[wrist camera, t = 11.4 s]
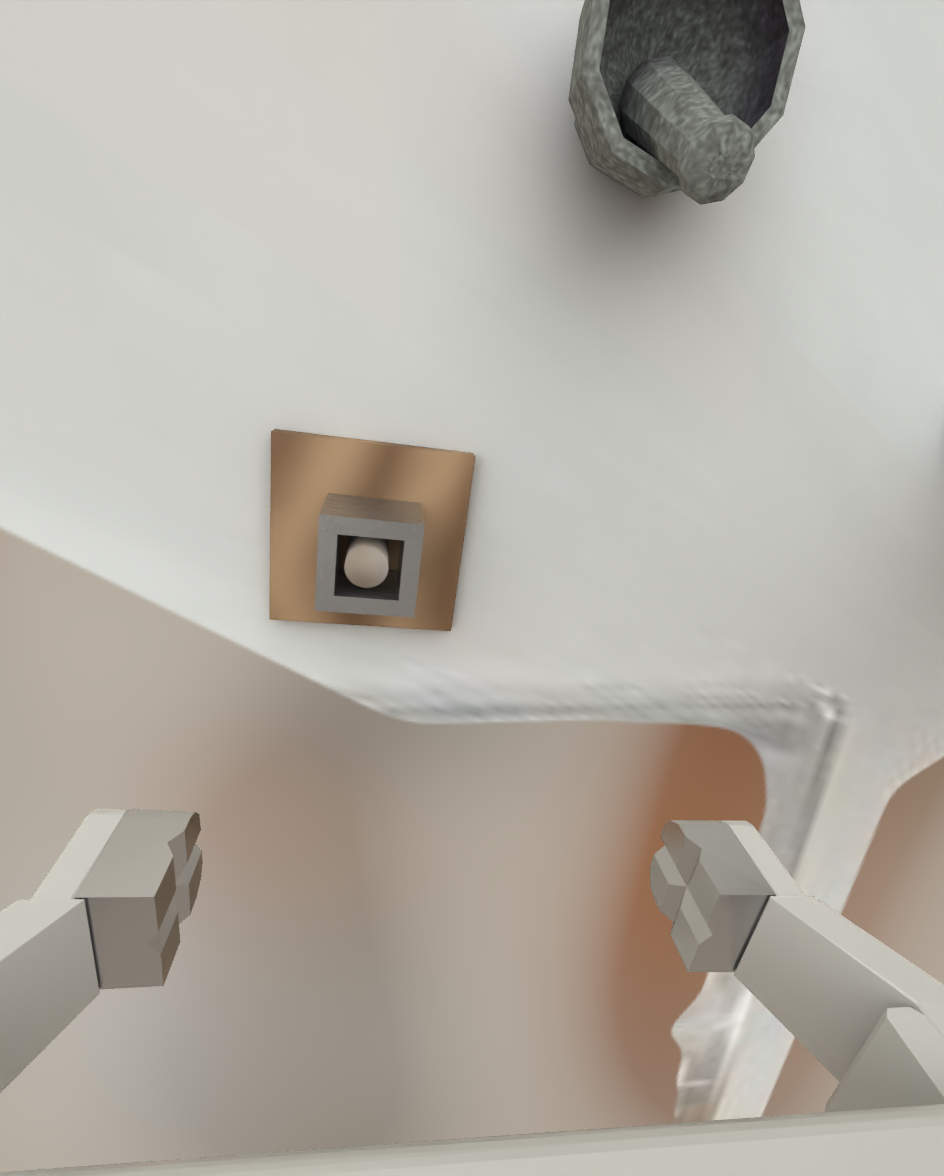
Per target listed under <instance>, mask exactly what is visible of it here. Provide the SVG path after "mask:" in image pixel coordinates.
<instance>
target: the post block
mask: <svg viewBox="0 0 944 1176" xmlns="http://www.w3.org/2000/svg"><path fill="white" fill-rule="evenodd" d="M474 462H475V455H474V454H473V453H467V452H459V451H451V450H443V449H434V448H426V447H418V446H410V445H401V444H393V443H385V442H377V441H369V440H360V439H352V438H344V437H336V436H327V435H319V434H311V433H303V432H295V431H286V430H278V429H274V430H273V431H271V512H270V619H272V620H287V621H303V622H319V623H334V624H350V625H366V626H381V627H397V628H412V629H428V630H444V631H451V627H452V620H453V612H454V605H455V598H456V591H457V584H458V576H459V569H460V562H461V555H462V548H463V541H464V533H465V526H466V519H467V512H468V505H469V497H470V490H471V483H472V476H473V469H474ZM328 493H334V494H343V495H353V496H362V497H372V498H381V499H390V500H400V501H409V502H419V503H420V505H421V510H422V514H423V519H424V523H425V528H424V536H423V545H422V554H421V563H420V572H419V580H418V589H417V598H416V607H415V615H414V618H411V617H397V616H383V615H368V614H354V613H339V612H325V611H315V595H316V571H317V548H318V525H319V513H320V511H321V508H322V506H323V504H324V501H325V499H326V497H327V494H328ZM399 546H400V540H392V539H382V538H371V537H360V536H350V535H342V552H341V565H344V569H345V574H346V576H347V578H348V579H349V580H350V581H351V582H352V583H353V584H355V585H357V586H359V587H363V588H371V587H375V586H377V585H379V584H380V583H382V582H383V581H384V579H385V578H386V576H387V574H388V569H392V570H397V567H398V556H399Z"/></svg>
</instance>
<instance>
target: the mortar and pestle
mask: <svg viewBox="0 0 944 1176" xmlns="http://www.w3.org/2000/svg"><path fill="white" fill-rule="evenodd" d="M804 30H805V23H804V19H803V14H802V10H801V5H800V1H799V0H585V2H584V5H583V9H582V12H581V16H580V20H579V28H578V35H577V42H576V49H575V57H574V64H573V71H572V78H571V86H570V93H569V102H570V105H571V107H572V110H573V113H574V115H575V127H576V130H577V133H578V135H579V138H580V140H581V143H582V146H583V148H584V151H585V154H586V156H587V159H588V161H589V164H590V165H592V166H594V167H595V168H597V169H598V170H600V171H601V172H603V173H605V174H606V175H608V176H609V177H611V178H613V179H614V180H616V181H617V182H619V183H621V184H622V185H624V186H626V187H627V188H629V189H630V190H632V191H633V192H635V193H637V194H638V195H640V196H641V197H649V196H655V195H660V194H664V193H669V192H673V191H678V190H682V191H683V192H684V193H685V194H686V195H687V196H689V197H690V198H692V199H693V200H695V201H696V202H697V203H699V204H700V205H701V204H706V203H712V202H717V201H722V200H724V199H725V198H726V197H727V196H728V195H729V194H731V193H732V192H733V191H734V190H735V189H736V188H737V187H739V186H740V185H741V184H742V183H743V181H744V179H745V177H746V175H747V173H748V170H749V168H750V166H751V164H752V162H753V159H754V157H755V153H754V148H755V147H756V146H757V144H758V143H759V142H760V141H761V140H762V139H763V138H764V136H765V135H766V134H767V133H768V132H769V131H770V130H771V128H772V127H773V126H774V125H775V124H776V123H777V122H778V120H779V119H780V118H781V117H782V116H783V113H784V109H785V105H786V102H787V98H788V94H789V90H790V86H791V82H792V78H793V74H794V70H795V66H796V62H797V58H798V54H799V50H800V46H801V42H802V38H803V34H804Z"/></svg>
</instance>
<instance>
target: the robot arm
mask: <svg viewBox="0 0 944 1176" xmlns="http://www.w3.org/2000/svg"><path fill="white" fill-rule="evenodd" d="M200 830H201V827H200V817H199V814H198V813H196V812H186V811H164V810H163V811H162V810H140V809H131V810H123V809H102V808H101V809H100V808H97V809H95V810H94V811H92V812H91V813H90V814H88V815H87V816H86V818H85V819H84V821H83V822H82V823H81V825H80V826H79V828H78V829H77V831H76V832H75V834H74V835H73V837H72V838H71V840H70V841H69V843H68V844H67V846H66V847H65V849H64V850H63V851H62V853H61V854H60V856H59V857H58V859H57V860H56V862H55V863H54V865H53V866H52V868H51V869H50V871H49V872H48V874H47V875H46V876H45V878H44V880H43V881H42V883H41V884H40V886H39V887H38V888H37V890H36V891H35V893H34V894H33V896H32V897H31V899H27V900H26V899H25V900H18V901H16V902H14V903H13V904H11V905H10V906H8V907H7V908H5V909H4V910H2V911H0V1093H1V1092H2V1091H3V1090H4V1089H5V1088H6V1087H7V1086H8V1085H9V1084H10V1083H11V1082H12V1081H13V1080H14V1079H15V1078H16V1077H17V1076H18V1075H19V1074H20V1073H21V1072H22V1071H23V1070H24V1069H25V1068H26V1067H27V1066H28V1065H29V1064H30V1063H31V1062H32V1061H33V1060H34V1059H35V1058H36V1057H37V1056H38V1055H39V1054H40V1053H41V1052H42V1051H43V1050H44V1049H45V1048H46V1047H47V1046H48V1045H49V1044H50V1043H51V1042H52V1041H53V1040H54V1039H55V1038H56V1036H58V1035H59V1034H60V1033H61V1032H62V1031H63V1030H64V1029H65V1028H66V1026H68V1025H69V1024H70V1023H71V1022H72V1020H74V1019H75V1018H76V1017H77V1015H78V1014H80V1013H81V1012H82V1011H83V1010H84V1009H85V1008H86V1007H87V1006H88V1004H89V1003H91V1001H92V1000H93V999H94V998H95V997H96V996H97V995H98V994H99V992H100V991H99V989H115V988H132V987H150V986H164V983H165V980H166V978H167V975H168V972H169V970H170V967H171V964H172V962H173V959H174V956H175V954H176V951H177V949H178V946H179V943H180V932H179V924H180V923H181V922H182V921H183V920H184V919H185V918H187V917H188V916H189V915H190V914H191V911H192V908H193V905H194V903H195V900H196V897H197V893H198V888H199V884H200V880H201V872H202V850H201V849H200V848H199V847H198V846H197V845H196V844H195V843H196V840H197V838H198V835H199V833H200ZM660 837H661V839H662V840H663V842H664V844H665V846H664V847H663V848H661V849H660V850H659V851H658V852H656V853H655V854H654V856H653V860H652V863H651V867H650V885H651V888H652V893H653V897H654V899H655V901H656V904H657V906H658V908H659V910H660V911H661V912H662V913H663V914H664V915H666V916H667V917H668V918H669V919H670V920H671V921H672V922H673V925H672V929H671V936H672V939H673V941H674V943H675V945H676V947H677V949H678V952H679V954H680V956H681V958H682V960H683V962H684V964H685V966H686V969H687V971H688V972H735V973H734V975H735V976H736V977H737V978H738V979H739V980H740V981H741V982H742V983H743V984H744V985H745V986H746V988H747V989H748V990H749V991H750V992H751V993H752V994H753V995H754V996H755V997H756V998H757V999H758V1000H759V1001H760V1002H761V1003H762V1004H763V1005H764V1006H765V1007H766V1008H767V1009H768V1010H769V1011H770V1012H771V1013H772V1014H773V1015H774V1016H775V1017H776V1018H777V1019H778V1020H779V1021H780V1022H781V1023H782V1024H783V1025H784V1026H785V1027H786V1028H787V1029H788V1030H789V1031H790V1032H791V1033H792V1034H793V1035H794V1036H795V1037H796V1038H797V1039H798V1040H799V1041H800V1042H801V1043H802V1044H803V1045H804V1046H805V1047H806V1048H807V1049H808V1050H809V1051H810V1052H811V1053H812V1054H813V1055H814V1056H815V1057H816V1058H817V1059H818V1060H819V1061H820V1062H821V1064H822V1065H823V1066H824V1067H825V1068H826V1069H827V1070H828V1071H829V1072H830V1073H831V1074H833V1076H834V1077H835V1078H836V1079H837V1080H838V1081H839V1082H840V1083H839V1084H838V1086H837V1088H836V1089H835V1091H834V1092H833V1094H832V1096H831V1097H830V1099H829V1100H828V1102H827V1105H826V1109H825V1112H824V1113H812V1114H798V1115H783V1116H770V1117H756V1118H742V1119H728V1120H714V1121H700V1122H686V1123H673V1124H660V1125H646V1126H645V1125H644V1126H630V1127H617V1128H602V1129H590V1130H589V1129H588V1130H574V1131H560V1132H546V1133H533V1134H518V1135H505V1136H491V1137H477V1138H464V1139H451V1140H436V1141H423V1142H410V1143H395V1144H383V1145H368V1146H354V1147H341V1148H327V1149H314V1150H299V1151H286V1152H272V1153H258V1154H244V1155H231V1156H217V1157H203V1158H189V1159H176V1160H162V1161H150V1162H149V1161H148V1162H135V1163H120V1164H107V1165H95V1166H94V1165H93V1166H79V1167H65V1168H52V1169H38V1170H25V1171H11V1172H0V1176H944V985H943V984H942V983H940V982H939V981H937V980H936V979H935V978H933V977H932V976H930V975H929V974H927V973H926V972H924V971H923V970H921V969H920V968H918V967H917V966H915V965H914V964H912V963H911V962H910V961H908V960H907V959H905V958H904V957H902V956H901V955H899V954H898V953H896V952H895V951H893V950H892V949H890V948H889V947H887V946H886V945H885V944H883V943H882V942H880V941H879V940H877V939H876V938H874V937H873V936H871V935H870V934H868V933H867V932H865V931H864V930H862V929H861V928H859V927H858V926H856V925H855V924H854V923H852V922H851V921H849V920H848V919H846V918H845V917H843V916H842V915H840V914H839V913H837V912H836V911H834V910H833V909H832V908H830V907H829V906H827V905H826V904H824V903H823V902H821V901H820V900H818V899H817V898H815V897H814V896H805V895H804V893H803V892H802V891H801V889H800V888H799V887H798V885H797V884H796V882H795V881H794V880H793V878H792V877H791V876H790V874H789V873H788V872H787V870H786V869H785V868H784V866H783V865H782V864H781V862H780V861H779V860H778V858H777V857H776V856H775V854H774V853H773V852H772V850H771V849H770V848H769V846H768V845H767V843H766V842H765V841H764V839H763V838H762V837H761V835H760V834H759V833H758V831H757V830H756V829H755V827H754V826H753V825H751V824H750V823H748V822H747V821H692V820H690V821H689V820H684V821H683V820H670V821H669V822H668V823H666V824H665V826H664V828H663V830H662V833H661V836H660Z"/></svg>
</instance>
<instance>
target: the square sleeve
mask: <svg viewBox="0 0 944 1176" xmlns="http://www.w3.org/2000/svg"><path fill="white" fill-rule="evenodd" d="M424 528H425V523H424V519H423V514H422V510H421V505H420V503H419V502H409V501H400V500H390V499H381V498H372V497H362V496H353V495H343V494H334V493H328V494H327V497H326V499H325V501H324V504H323V506H322V508H321V511H320V513H319V525H318V548H317V571H316V595H315V611H325V612H339V613H354V614H368V615H383V616H397V617H411V618H414V615H415V607H416V598H417V589H418V580H419V572H420V563H421V554H422V545H423V536H424ZM342 535H350V536H360V537H371V538H382V539H392V540H400V546H399V556H398V567H397V570H392V569H388V574H387V576H386V578H385V579H384V581H383V582H382V583H380V584H379V585H377V586H375V587H371V588H363V587H359V586H357V585H355V584H353V583H352V582H351V581H350V580H349V579H348V578H347V576H346V574H345V569H344V565H341V552H342Z"/></svg>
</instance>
